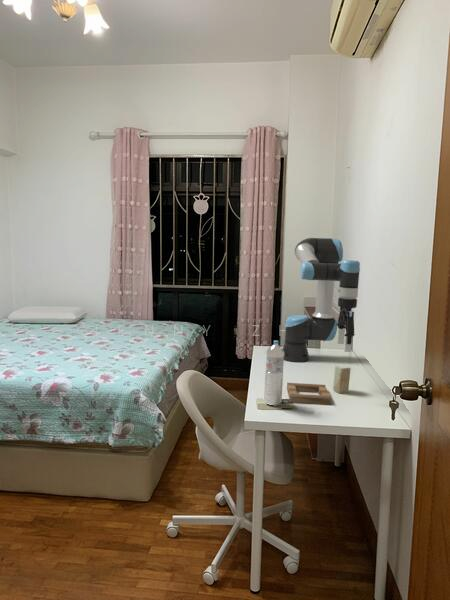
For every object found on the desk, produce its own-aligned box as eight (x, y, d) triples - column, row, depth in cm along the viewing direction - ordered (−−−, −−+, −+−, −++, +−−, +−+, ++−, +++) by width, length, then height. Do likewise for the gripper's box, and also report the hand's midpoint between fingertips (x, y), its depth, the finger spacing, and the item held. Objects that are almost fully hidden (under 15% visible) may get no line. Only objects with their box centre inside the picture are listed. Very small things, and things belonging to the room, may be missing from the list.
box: (339, 393, 181) (341, 368, 179) (332, 390, 185) (334, 365, 183) (348, 392, 183) (351, 367, 181) (342, 388, 187) (344, 364, 185)
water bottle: (263, 399, 171) (266, 338, 168) (280, 400, 171) (284, 339, 168) (264, 406, 165) (267, 342, 161) (282, 407, 164) (286, 343, 161)
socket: (286, 388, 185) (287, 382, 185) (324, 390, 184) (324, 384, 184) (290, 402, 169) (290, 396, 169) (331, 404, 169) (331, 398, 168)
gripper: (332, 293, 190) (329, 340, 193) (345, 301, 166) (341, 354, 169) (349, 294, 190) (346, 341, 193) (365, 302, 165) (360, 355, 168)
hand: (343, 347), depth 181 cm, fingers open, 13 cm apart
